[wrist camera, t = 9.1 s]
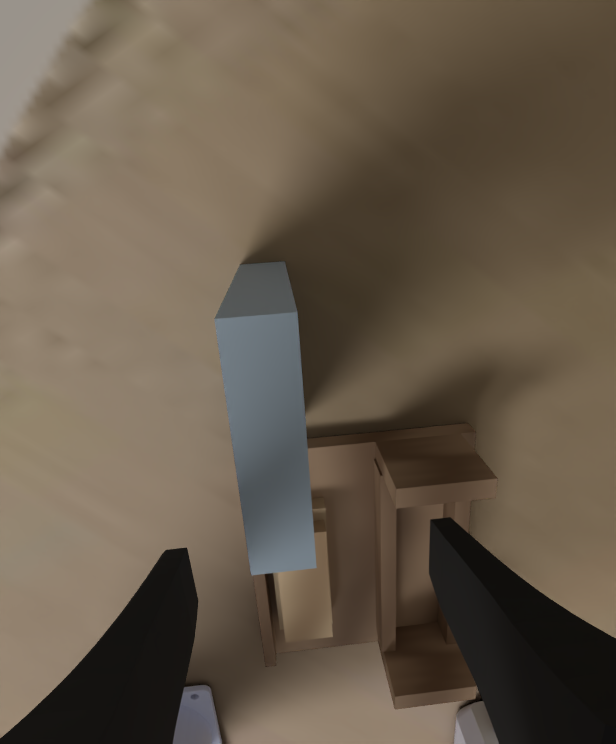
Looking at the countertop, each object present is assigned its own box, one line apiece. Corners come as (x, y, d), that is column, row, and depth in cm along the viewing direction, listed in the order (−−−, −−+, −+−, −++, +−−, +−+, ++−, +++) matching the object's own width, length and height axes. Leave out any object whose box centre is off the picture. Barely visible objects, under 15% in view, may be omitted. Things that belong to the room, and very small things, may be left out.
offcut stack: (279, 616, 26) (280, 644, 25) (266, 503, 23) (266, 526, 22) (330, 610, 27) (334, 637, 25) (323, 497, 24) (327, 519, 22)
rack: (267, 639, 28) (267, 725, 24) (241, 445, 23) (234, 505, 19) (454, 617, 29) (489, 697, 24) (467, 423, 24) (515, 476, 19)
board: (258, 423, 23) (251, 575, 14) (240, 264, 20) (214, 319, 11) (297, 420, 23) (316, 568, 14) (284, 261, 20) (297, 312, 11)
